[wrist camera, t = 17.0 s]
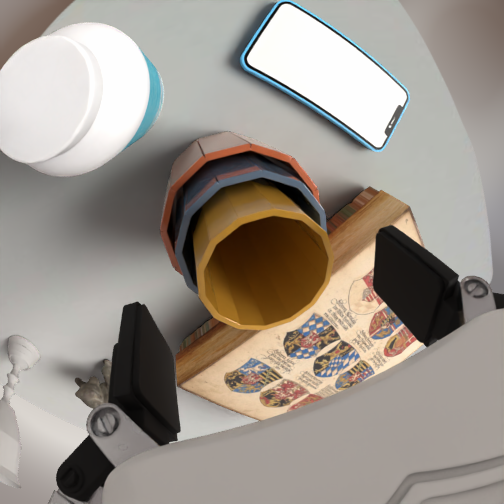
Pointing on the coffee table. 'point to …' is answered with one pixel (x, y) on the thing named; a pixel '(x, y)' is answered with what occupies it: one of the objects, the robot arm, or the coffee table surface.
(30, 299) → the coffee table surface
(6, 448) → the chalice
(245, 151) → the cup stack
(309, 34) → the smartphone
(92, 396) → the dog figurine
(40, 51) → the pill bottle
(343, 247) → the book
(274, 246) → the ochre cup
